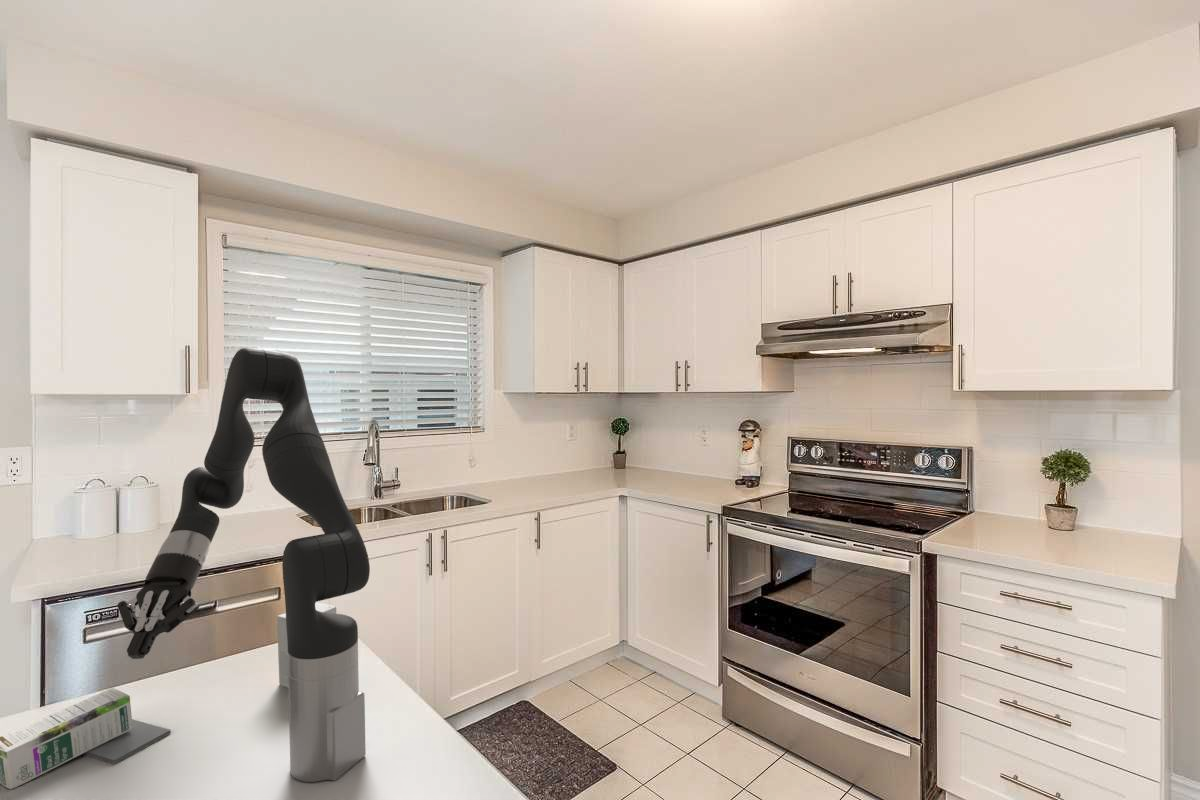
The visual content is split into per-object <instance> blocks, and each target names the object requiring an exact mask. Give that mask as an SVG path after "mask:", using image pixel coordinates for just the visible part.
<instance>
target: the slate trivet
mask: <svg viewBox="0 0 1200 800" xmlns="http://www.w3.org/2000/svg"><path fill="white" fill-rule="evenodd" d="M132 723H133V726H134V728H133V729H132V730H130V731H128V732H126V733H124V734H122V735H120V736H118V737H115V738H113V739H111V740H109V741H107V742H105V743H103V744H101V745H99V746H97V747H95V748H93V749H91V750H89V751H87V752H85V753H83V754H82V755H83V756H87V757H90V758H92V759H97V760H100V761H102V762H105V763H108V764H112V765H116V764H118V763H120V762H121V761H123V760H126V758H129V757H130V756H133V755H134V754H135V753H137V752H139V751H141V750H143V749H145V748H147V747H148V745H149V746H151V745H152V744H155V743H156V742H158V741H160V740H161V739H163V738H165V737H167V736H168V735H171V734H172V732H171V731H172V730H171V728H165V727H162V726H158V725H155V724H152V723H151V724H150V723H147V722H144V721H140V720H136V719H133V718H132ZM170 733H171V734H170ZM150 744H151V745H150ZM146 746H147V747H146Z"/></svg>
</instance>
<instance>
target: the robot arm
mask: <svg viewBox="0 0 1200 800" xmlns="http://www.w3.org/2000/svg"><path fill="white" fill-rule="evenodd" d="M228 367H229V368H228V371H227V374H226V379H225V385H224V389H223V393H222V398H221V402H220V403H221V404H220V409H219V413H218V414H219V415H218V420H217V425H216V428H215V432H214V434H213V437H212V440H211V442H210V445H209V447H208V449H207V452H206V454H205V455H204V456H205V457H204V461H203V464H204V466H199V467H196V468H193V469H191V470H190V471H189V472H188V473H187V475H186V476H185V478H184V481H183V483H182V484H183V485H182V492H181V493H182V494H181V503H180V508H179V512H178V515H177V517H176V520H175V521H174V524H173V525H172V528H171V530H170V532H169V534H168V536H167V538H165V540H164V541H163V543H162V545H161V546H160V548H159V551H158V552H157V554H156V556H155V559H154V560H153V562H152V564H151V566H150V569H149V570H148V572H147V574H146V577H145V580H144V585H143V586H142V588H140V590H139V591H138V592H136V595H135V597H134V598H131V599H130V600H128V601H126V600H121V601H119V602H118V603H117V609H118V612H119V614H120V616H121V620H122V621H123V625H124V628H125V629H126V630H128V631H129V632H130V633H132V634H133V636H132V638H131V641H130V642H129V643H128V646H127V648H126V653H127V656H128V657H130V658H131V660H140V659H144V658H145V656H147V655H148V654H149V653H150V651H151V649H152V646H153V645H154V643H155V640H156V638H157V637H159V636H160V634H162V633H167V634H168V633H171V631H174V629H176V628H177V627H178V626H180V624H182V623H183V622H184V621H186V620H187V619H188V618H189V617H190V616H191V615H193V614H194V613H195V612H197V610H198V609H199V608H200V604H199V603H198V602H197V601H196V600H195V599H193V597H192V591H191V590H192V589H194V586H195V584H196V582H197V580H198V577H199V575H200V573H201V570H202V568H203V565H204V563H205V562H206V559H207V556H208V553H209V550H210V546H211V544H212V542H213V539H214V536H215V535H216V532H217V530H218V528H219V526H220V525H219V524H220V517H219V515H218V514H217V513H216V512H214V511H213V510H211V509H209V508H207V507H206V506H210V507H214V508H218V509H222V510H223V509H225V510H226V509H230V508H233V507H235V506H236V505H237V504H239V502H240V501H241V499H242V497H243V494H244V491H245V490H244V489H245V479H244V478H245V477H244V474H245V468H246V465H247V463H248V460H249V458H250V456H251V454H252V453H253V450H254V445H255V434H254V430H253V428H252V425H251V424H250V422H249V420H248V419H247V416H246V413H245V411H244V402H245V400H247V399H249V400H259V401H260V400H262V401H272V402H278V403H279V404H280V405H281V407H282V412H281V414H280V416H279V418H278V419H277V420H276V422H274V424H273V426H272V427H271V428H270V430H269V431H268V433H267V435H266V436H265V439H264V440H263V444H262V448H261V451H262V452H261V453H262V458H263V462H264V465H265V469H266V473H267V477H268V480H269V482H270V484H271V486H272V487H273V489H275V491H276V492H277V493H278V494H279V495H280V496H281V497H283V498H284V499H285V500H287V501H288V502H289V503H291V504H293V506H296V507H297V508H298V509H300V510H301V511H303V512H304V513H306V514H307V515H308V516H310V518H312V519H313V520H314V521H315V522H316V523H317V525H319V527H320V528H321V530H322V531H323V533H321V534H317V535H311V536H305V537H299V538H295V539H291V540H290V541H288V542H287V544H286V546H285V548H284V550H283V555H282V569H281V570H282V581H283V591H284V604H285V605H284V606H285V613H286V628H287V641H288V686H289V688H288V727H289V728H288V729H289V730H288V731H289V734H288V735H289V758H290V759H289V767H290V768H289V769H290V774H291V776H292V777H293V778H294V779H296V780H297V781H300V782H305V783H306V782H307V783H308V782H309V783H314V782H320V781H327V780H328V781H336V780H337V779H339V778H340V777H341V776H342V775H344V774H345V773H346V772H348V771H349V769H351V768H353V766H355V765H356V764H357V763H358V762H359V761H360V760H362V759H363V758H365V756H366V755H367V754H366V753H367V752H366V751H367V750H366V749H367V748H366V709H365V708H366V707H365V706H366V705H365V704H366V703H365V702H366V700H365V692H363V691H360V690H359V689H360V688H359V687H360V686H359V684H360V681H359V680H360V679H359V636H358V635H359V632H358V631H359V630H358V623H357V621H356V620H355V619H354V618H353V617H351V616H349V615H346V614H341V613H336V614H334V613H324V612H320V611H317V610H316V608H315V603H316V602H320V601H325V600H329V599H333V598H337V597H342V596H345V595H349V594H354V593H355V592H358V591H361V590H362V589H364V588H365V587H366V585H367V583H368V581H369V579H370V572H371V571H370V569H371V568H370V567H371V566H370V560H369V559H370V558H369V555H368V551H367V548H366V547H367V546H366V545H365V543H364V540H363V537H362V535H361V533H360V530H359V528H358V526H357V524H356V522H355V519H354V518H353V517H352V514H351V512H350V510H349V508H348V505H347V504H346V501H345V500H344V498H343V495H342V493H341V490H340V487H339V485H338V481H337V479H336V476H335V473H334V469H333V467H332V463H331V460H330V459H331V458H330V457H329V453H328V451H327V448H326V446H325V443H324V440H323V438H322V435H321V433H320V430H319V428H318V425H317V422H316V420H315V416H314V414H313V413H314V412H313V411H312V407H311V402H310V400H309V395H308V390H307V385H306V381H305V377H304V373H303V368H302V366H301V363H300V361H299V360H298V358H297V357H296V355H294V354H291V353H288V352H284V351H276V350H270V349H262V348H257V347H256V348H255V347H242V348H240V349H238V351H237V352H236V353H234V355H233V357H232V358H231V361H230V365H229V366H228ZM204 505H206V506H204ZM191 597H192V598H191ZM138 608H139V612H138ZM137 612H138V615H136V613H137Z"/></svg>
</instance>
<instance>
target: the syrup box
mask: <svg viewBox="0 0 1200 800" xmlns="http://www.w3.org/2000/svg"><path fill="white" fill-rule="evenodd" d="M132 714H133V713H132V705H131V696H130V695H129V694H127V693H125V692H123V691H120V690H118V689H116V688H115V687H111V688H108V689H107V690H104V691H102V692H100V693H97V694H95V695H93V696H90V697H88V698H86V699H83V700H81V701H79V702H77V703H74V704H72V705H69V706H67V707H65V708H62V709H60V710H58V711H56V712H54V713H52V714H48V715H47V716H45V717H42V718H40V719H37V720H35V721H33V722H31V723H29V724H27V725H24V726H21V727H19V728H17V729H14V730H13V731H10V732H8V733H6V734H3V735H1V736H0V784H1V785H2V786H3V787H6V788H7V789H9V790H14V789H15V788H18V787H19V786H21V785H24V784H26V783H28V782H30V781H32V780H34V779H35V778H38V777H40V776H42V775H43V774H46V773H48V772H49V771H51V770H54V769H55V768H57V767H59V766H62V765H64V764H65V763H67V762H70V761H71V760H73V759H75V758H78V757H79V756H82V755H83V753H85V752H87V751H89V750H91V749H93V748H95V747H97V746H99V745H101V744H103V743H105V742H107V741H109V740H111V739H113V738H115V737H118V736H120V735H122V734H124V733H126V732H128V731H130V730H132V729H133V728H134V726H133V723H132V719H133V715H132ZM13 788H14V789H13Z"/></svg>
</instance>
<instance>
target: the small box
mask: <svg viewBox="0 0 1200 800" xmlns="http://www.w3.org/2000/svg"><path fill="white" fill-rule="evenodd" d="M315 608H316V610H317V611H320V612H324V613H334V614H337V607H336V606H334V605H330V604H327V603H323V602H320V601H317V602H316V603H315ZM276 623H277V627H276V629H277V651H278V655H277V657H278V676H279V677H278V682H279V686H281V687H284V686H285V687H284V688H288V689H289V686H288V641H287V628H286V612H284V613H282V614H279V615H278V614H277V616H276Z"/></svg>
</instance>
